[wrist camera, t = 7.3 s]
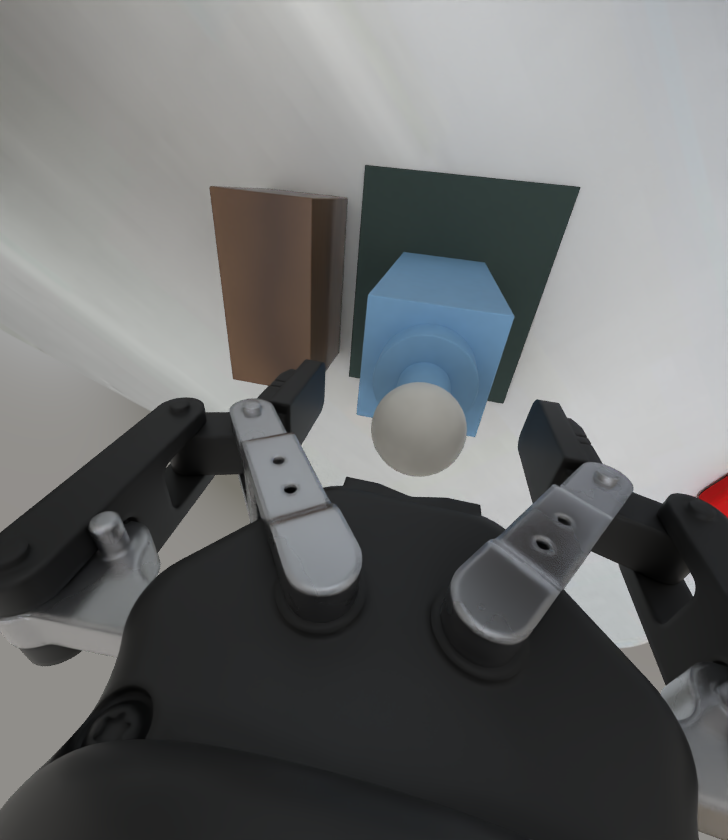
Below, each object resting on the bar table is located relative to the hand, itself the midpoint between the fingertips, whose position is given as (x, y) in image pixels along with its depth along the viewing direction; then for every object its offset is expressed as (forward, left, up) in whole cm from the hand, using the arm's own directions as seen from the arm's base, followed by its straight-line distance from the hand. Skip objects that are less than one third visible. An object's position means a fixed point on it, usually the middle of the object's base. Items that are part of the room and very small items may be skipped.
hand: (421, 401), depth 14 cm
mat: (+1, 0, -17) cm, 17 cm away
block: (-11, 0, -17) cm, 20 cm away
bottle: (-4, 0, -16) cm, 17 cm away
